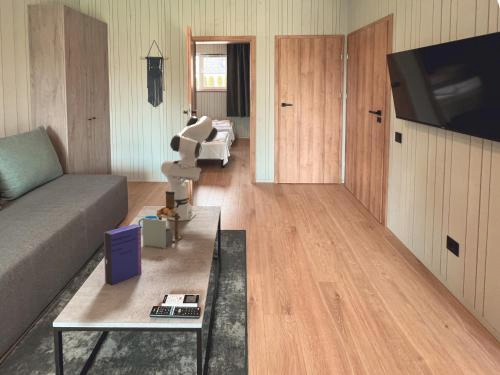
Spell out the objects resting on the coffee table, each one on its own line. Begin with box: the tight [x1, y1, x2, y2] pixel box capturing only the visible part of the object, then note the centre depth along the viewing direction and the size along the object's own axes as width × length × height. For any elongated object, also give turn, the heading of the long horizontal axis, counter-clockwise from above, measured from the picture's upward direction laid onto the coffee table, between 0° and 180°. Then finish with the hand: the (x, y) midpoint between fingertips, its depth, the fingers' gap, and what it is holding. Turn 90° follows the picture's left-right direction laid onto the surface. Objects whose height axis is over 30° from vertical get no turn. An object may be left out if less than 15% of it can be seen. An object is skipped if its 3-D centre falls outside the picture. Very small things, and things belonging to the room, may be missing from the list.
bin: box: [142, 217, 174, 250], centre depth 277 cm, size 11×14×16 cm
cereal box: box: [103, 223, 143, 286], centre depth 227 cm, size 17×5×24 cm, turn 144°
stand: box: [157, 213, 184, 244], centre depth 288 cm, size 10×14×16 cm
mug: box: [137, 215, 158, 230], centre depth 305 cm, size 12×8×8 cm
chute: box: [156, 190, 177, 219], centre depth 284 cm, size 10×9×15 cm
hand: (179, 184), depth 296 cm, fingers closed
